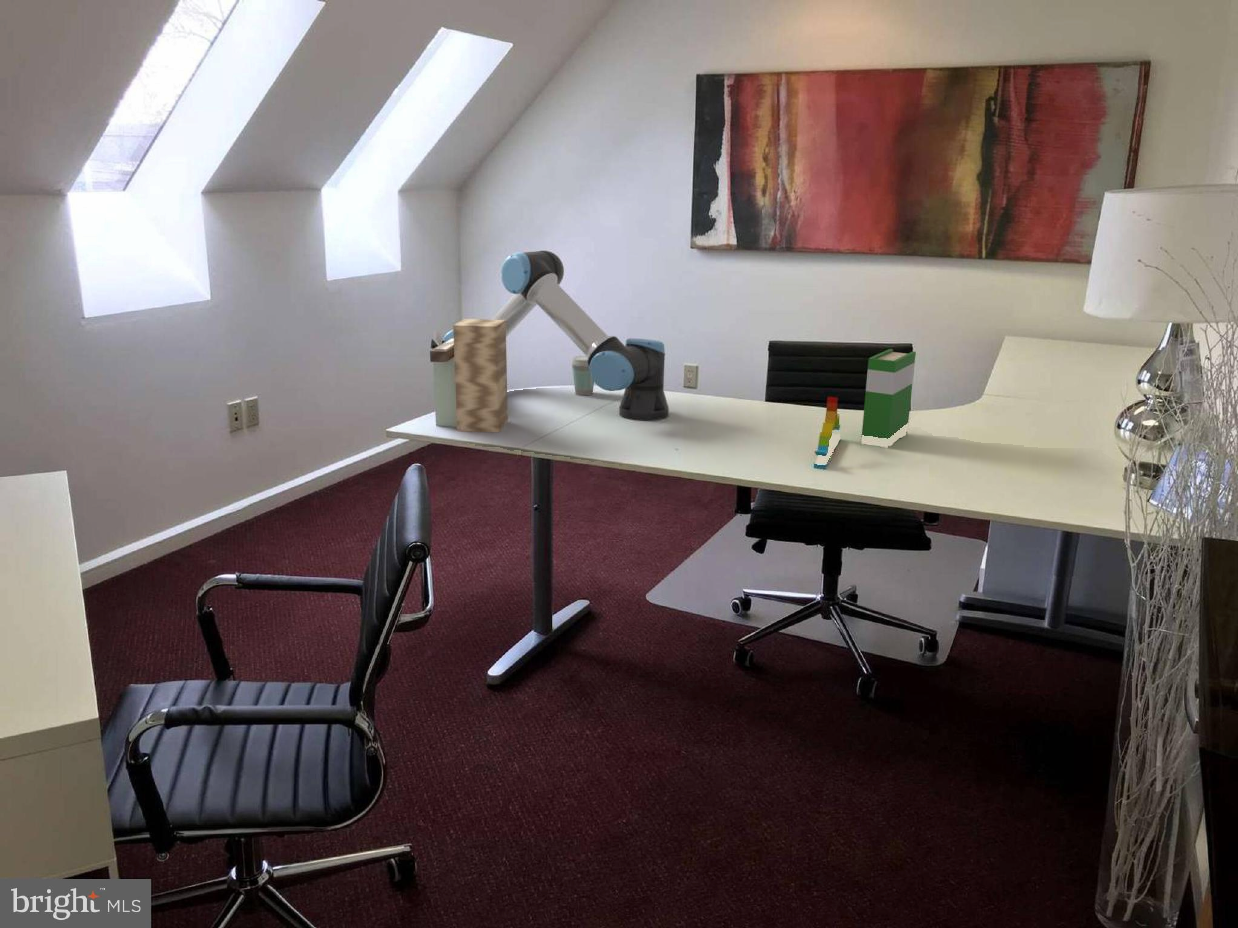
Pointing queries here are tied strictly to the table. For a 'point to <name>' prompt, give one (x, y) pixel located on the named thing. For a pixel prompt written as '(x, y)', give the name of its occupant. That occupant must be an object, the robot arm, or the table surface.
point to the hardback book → (888, 393)
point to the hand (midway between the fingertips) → (452, 335)
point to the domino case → (443, 352)
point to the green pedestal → (445, 393)
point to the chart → (828, 429)
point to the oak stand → (480, 375)
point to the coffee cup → (582, 376)
